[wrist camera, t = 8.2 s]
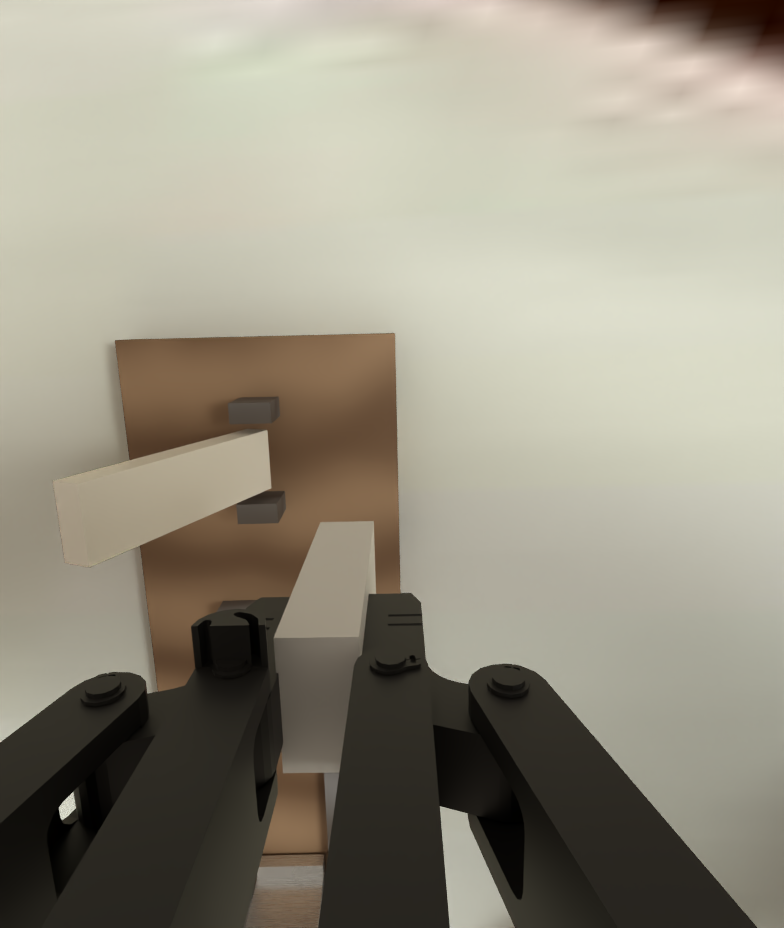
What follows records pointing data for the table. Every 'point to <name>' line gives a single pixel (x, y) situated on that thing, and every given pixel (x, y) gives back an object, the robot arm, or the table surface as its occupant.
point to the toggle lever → (157, 494)
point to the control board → (265, 494)
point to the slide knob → (288, 892)
